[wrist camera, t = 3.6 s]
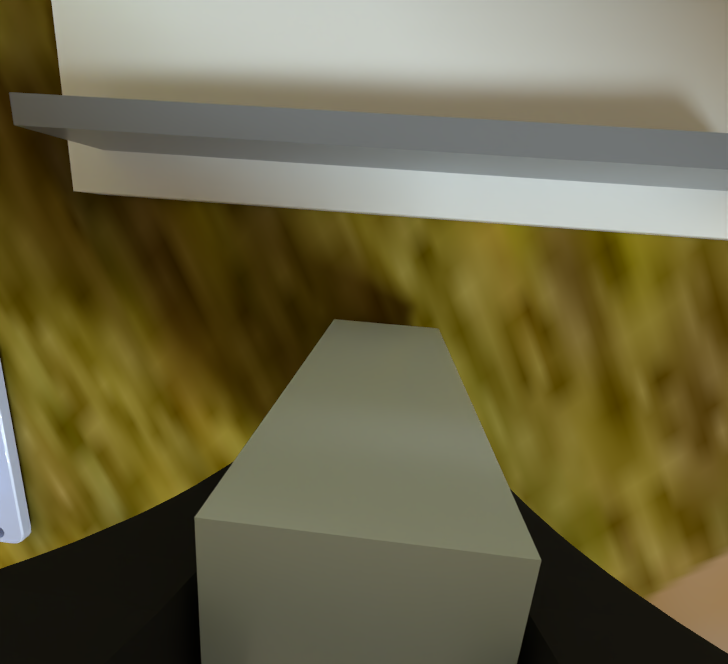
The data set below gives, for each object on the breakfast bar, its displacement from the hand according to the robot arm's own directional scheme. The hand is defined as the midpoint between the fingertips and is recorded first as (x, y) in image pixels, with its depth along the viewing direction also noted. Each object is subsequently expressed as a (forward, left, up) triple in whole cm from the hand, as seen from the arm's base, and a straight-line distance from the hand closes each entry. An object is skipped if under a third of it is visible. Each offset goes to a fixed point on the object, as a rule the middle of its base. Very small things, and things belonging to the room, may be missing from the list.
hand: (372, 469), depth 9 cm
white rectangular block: (0, 0, -3) cm, 3 cm away
